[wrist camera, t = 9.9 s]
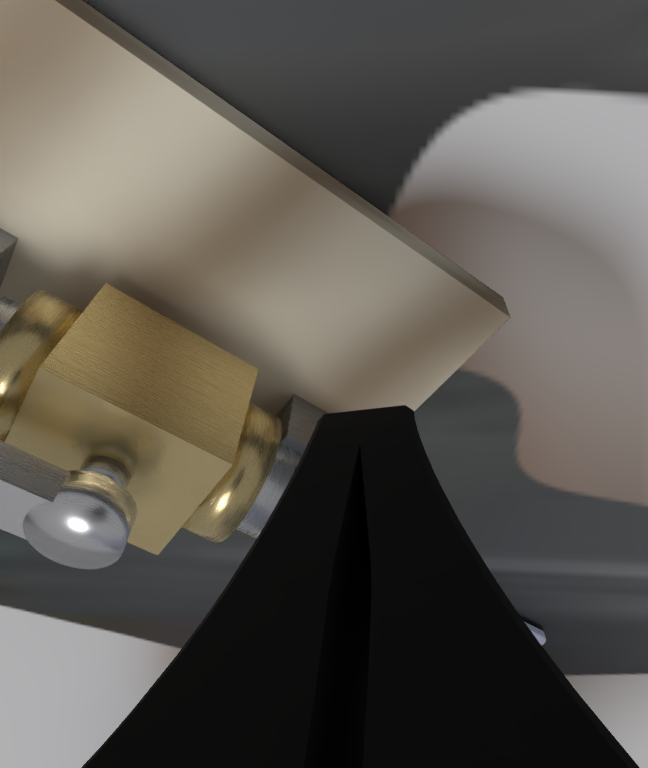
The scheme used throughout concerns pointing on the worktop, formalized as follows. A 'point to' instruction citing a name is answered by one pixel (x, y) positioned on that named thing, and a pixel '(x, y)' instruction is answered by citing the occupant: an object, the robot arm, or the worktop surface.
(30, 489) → the valve lever
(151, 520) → the valve pipe
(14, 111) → the mounting board
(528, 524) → the worktop surface
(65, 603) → the worktop surface
